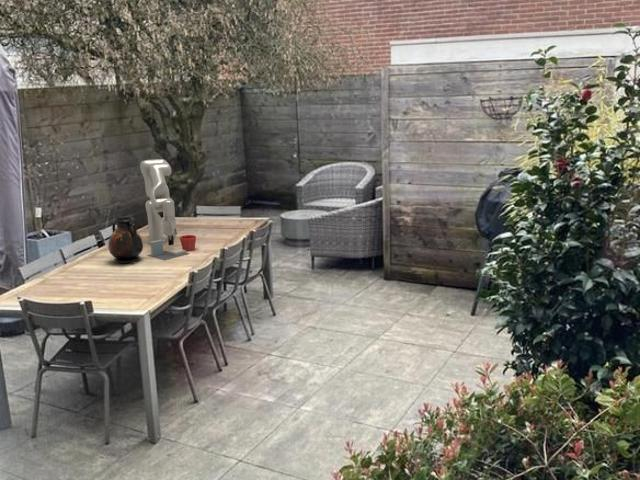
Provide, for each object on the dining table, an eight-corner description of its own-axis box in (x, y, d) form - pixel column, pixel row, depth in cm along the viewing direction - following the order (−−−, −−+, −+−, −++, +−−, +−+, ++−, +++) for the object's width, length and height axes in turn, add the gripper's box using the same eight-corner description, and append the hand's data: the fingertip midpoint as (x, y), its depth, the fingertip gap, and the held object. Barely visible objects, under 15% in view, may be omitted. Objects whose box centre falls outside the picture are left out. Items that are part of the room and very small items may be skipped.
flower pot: (193, 252, 407) (192, 238, 405) (178, 252, 409) (177, 238, 407) (199, 248, 417) (198, 235, 415) (184, 248, 419) (183, 234, 417)
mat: (146, 256, 399) (146, 255, 398) (172, 249, 414) (172, 249, 414) (164, 261, 386) (164, 260, 386) (190, 254, 402) (190, 253, 402)
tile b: (151, 255, 397) (150, 242, 395) (161, 253, 403) (160, 239, 401) (153, 256, 396) (152, 242, 394) (163, 253, 402) (162, 240, 400)
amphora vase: (151, 258, 393) (148, 216, 386) (128, 267, 374) (124, 223, 367) (126, 255, 402) (122, 214, 395) (102, 263, 383) (98, 220, 376)
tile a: (166, 250, 403) (175, 252, 397) (176, 248, 409) (185, 250, 403) (166, 253, 404) (175, 255, 398) (176, 250, 410) (185, 253, 404)
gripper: (157, 217, 403) (159, 244, 407) (171, 220, 394) (173, 247, 398) (167, 216, 408) (169, 242, 413) (180, 218, 399) (182, 245, 403)
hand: (171, 244), depth 405 cm, fingers closed
